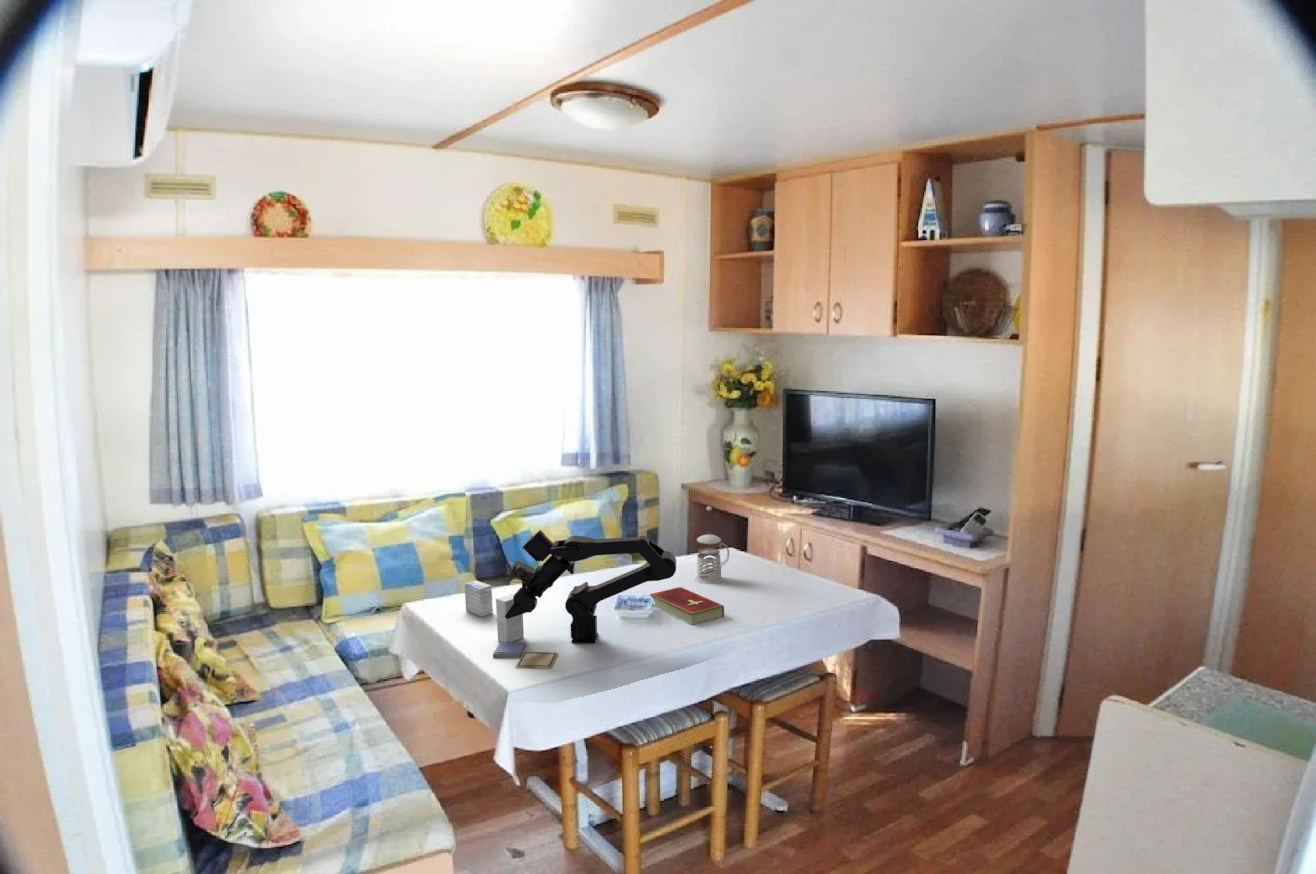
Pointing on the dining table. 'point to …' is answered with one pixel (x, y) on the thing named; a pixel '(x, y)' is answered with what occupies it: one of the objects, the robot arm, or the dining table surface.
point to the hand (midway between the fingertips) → (509, 611)
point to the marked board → (537, 660)
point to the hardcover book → (687, 605)
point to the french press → (709, 560)
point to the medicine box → (478, 598)
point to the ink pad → (510, 649)
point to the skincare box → (508, 620)
